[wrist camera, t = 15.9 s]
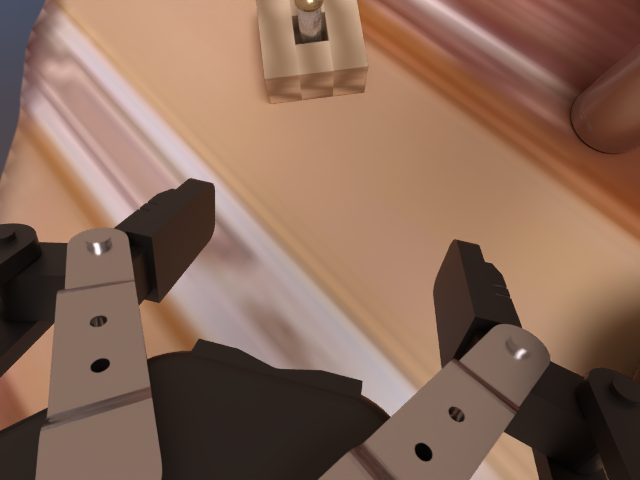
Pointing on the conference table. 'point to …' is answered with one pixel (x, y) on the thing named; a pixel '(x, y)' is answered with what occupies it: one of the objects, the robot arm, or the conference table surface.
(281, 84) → the maple hitch block
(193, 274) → the conference table surface
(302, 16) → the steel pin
